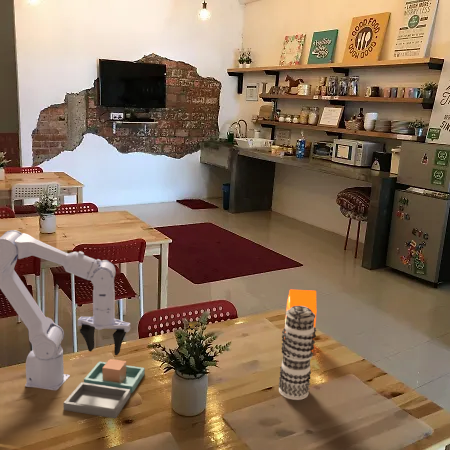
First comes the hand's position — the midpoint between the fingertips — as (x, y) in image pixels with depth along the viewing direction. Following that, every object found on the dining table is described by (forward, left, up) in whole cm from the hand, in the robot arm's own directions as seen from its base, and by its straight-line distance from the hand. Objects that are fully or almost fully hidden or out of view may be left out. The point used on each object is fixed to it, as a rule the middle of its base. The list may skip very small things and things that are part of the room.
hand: (104, 351), depth 140 cm
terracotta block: (+3, +1, -9) cm, 9 cm away
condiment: (+20, +18, -10) cm, 28 cm away
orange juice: (+53, +37, -10) cm, 65 cm away
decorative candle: (+53, +9, -10) cm, 54 cm away
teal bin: (+3, +1, -9) cm, 10 cm away
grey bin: (+3, -11, -9) cm, 14 cm away
